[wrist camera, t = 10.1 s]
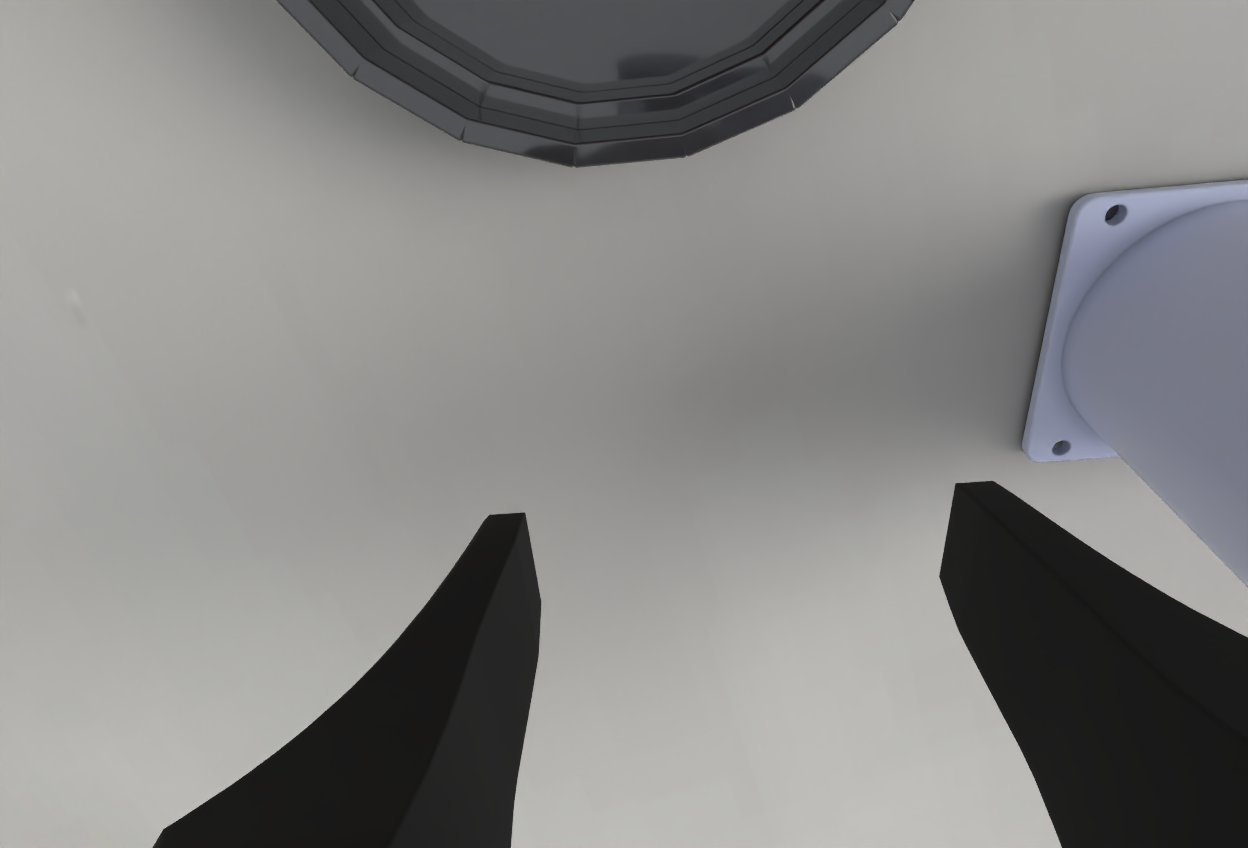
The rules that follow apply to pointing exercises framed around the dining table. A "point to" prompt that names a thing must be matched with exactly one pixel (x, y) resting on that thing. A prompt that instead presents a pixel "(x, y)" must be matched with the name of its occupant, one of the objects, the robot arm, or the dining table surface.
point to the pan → (596, 66)
